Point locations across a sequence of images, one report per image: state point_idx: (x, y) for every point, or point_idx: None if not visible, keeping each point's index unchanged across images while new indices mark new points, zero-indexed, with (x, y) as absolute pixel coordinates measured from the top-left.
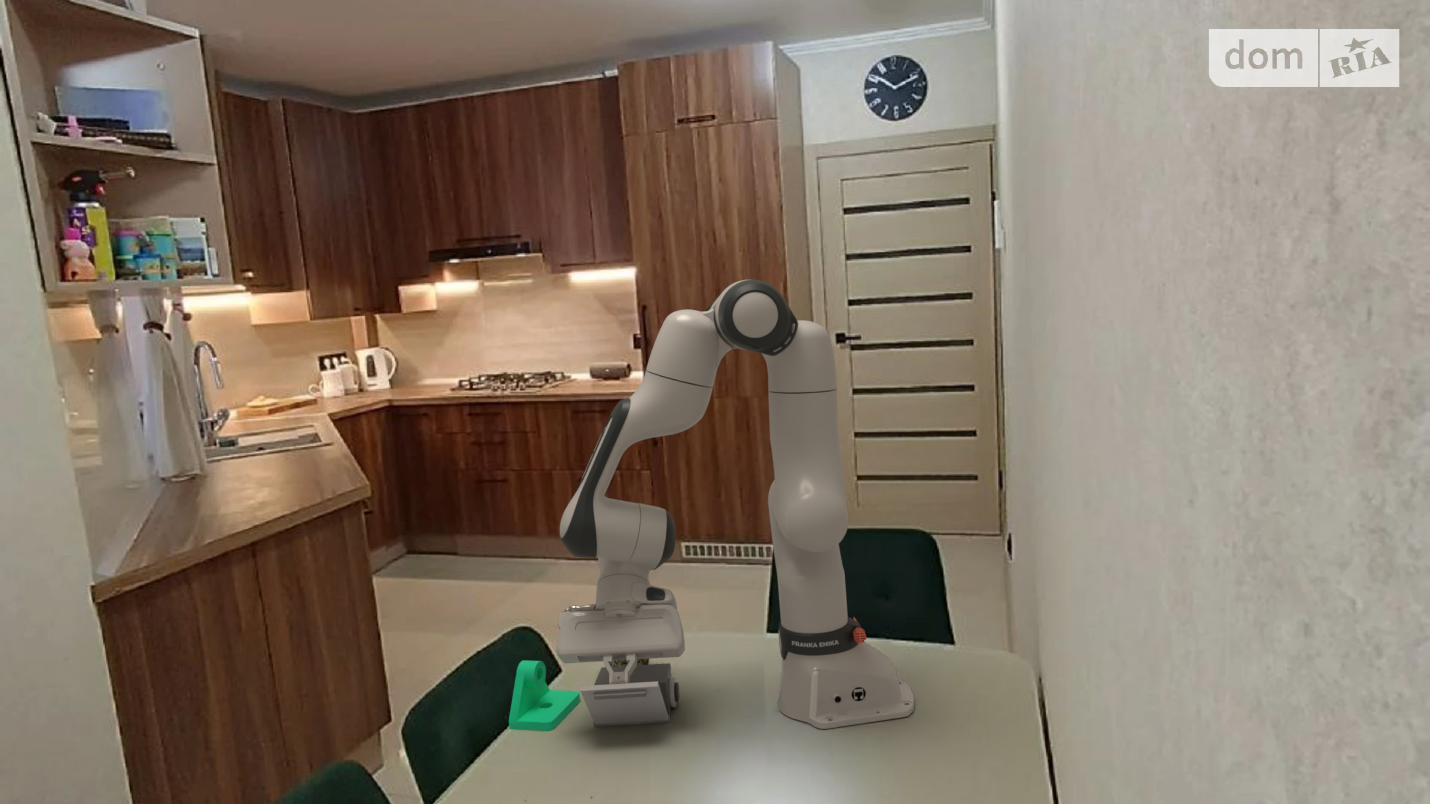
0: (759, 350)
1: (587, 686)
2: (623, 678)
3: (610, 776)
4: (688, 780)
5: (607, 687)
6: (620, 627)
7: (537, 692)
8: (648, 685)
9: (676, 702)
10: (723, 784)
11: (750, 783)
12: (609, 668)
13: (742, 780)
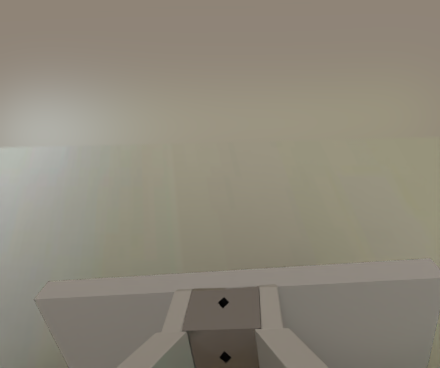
0: None
1: (401, 277)
2: (194, 296)
3: (258, 198)
4: (106, 183)
5: (284, 275)
6: None
7: None
8: (85, 284)
9: None
10: (49, 171)
11: (8, 174)
12: (288, 350)
13: (17, 183)
